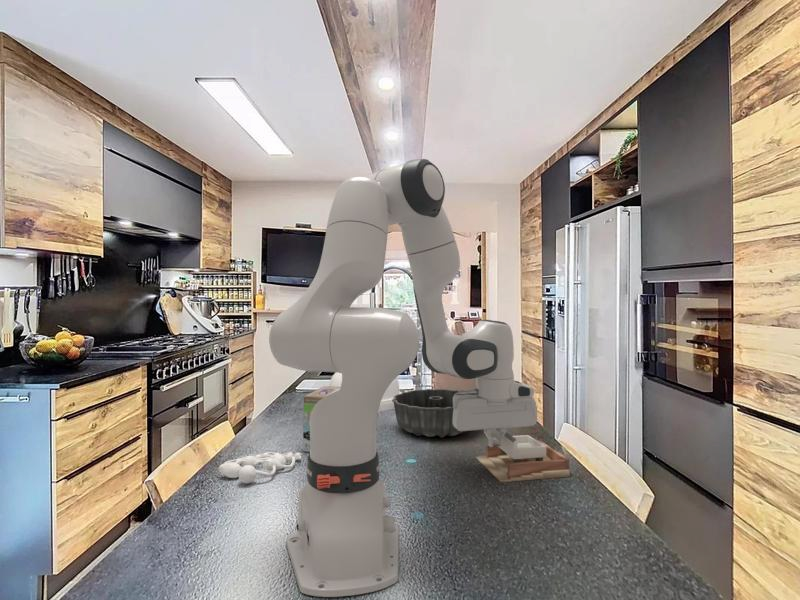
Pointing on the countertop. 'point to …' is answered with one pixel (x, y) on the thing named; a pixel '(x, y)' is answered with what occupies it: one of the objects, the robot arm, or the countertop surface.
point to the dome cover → (387, 397)
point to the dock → (525, 465)
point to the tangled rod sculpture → (249, 471)
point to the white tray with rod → (522, 447)
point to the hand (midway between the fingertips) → (495, 446)
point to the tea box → (309, 404)
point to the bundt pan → (426, 412)
